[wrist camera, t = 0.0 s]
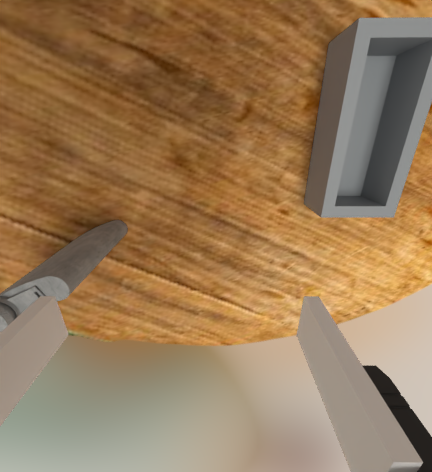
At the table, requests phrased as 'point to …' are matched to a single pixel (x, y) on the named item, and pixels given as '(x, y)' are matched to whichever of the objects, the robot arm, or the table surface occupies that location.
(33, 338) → the robot arm
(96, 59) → the table surface
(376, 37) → the tray
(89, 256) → the hip flask
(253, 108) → the table surface
